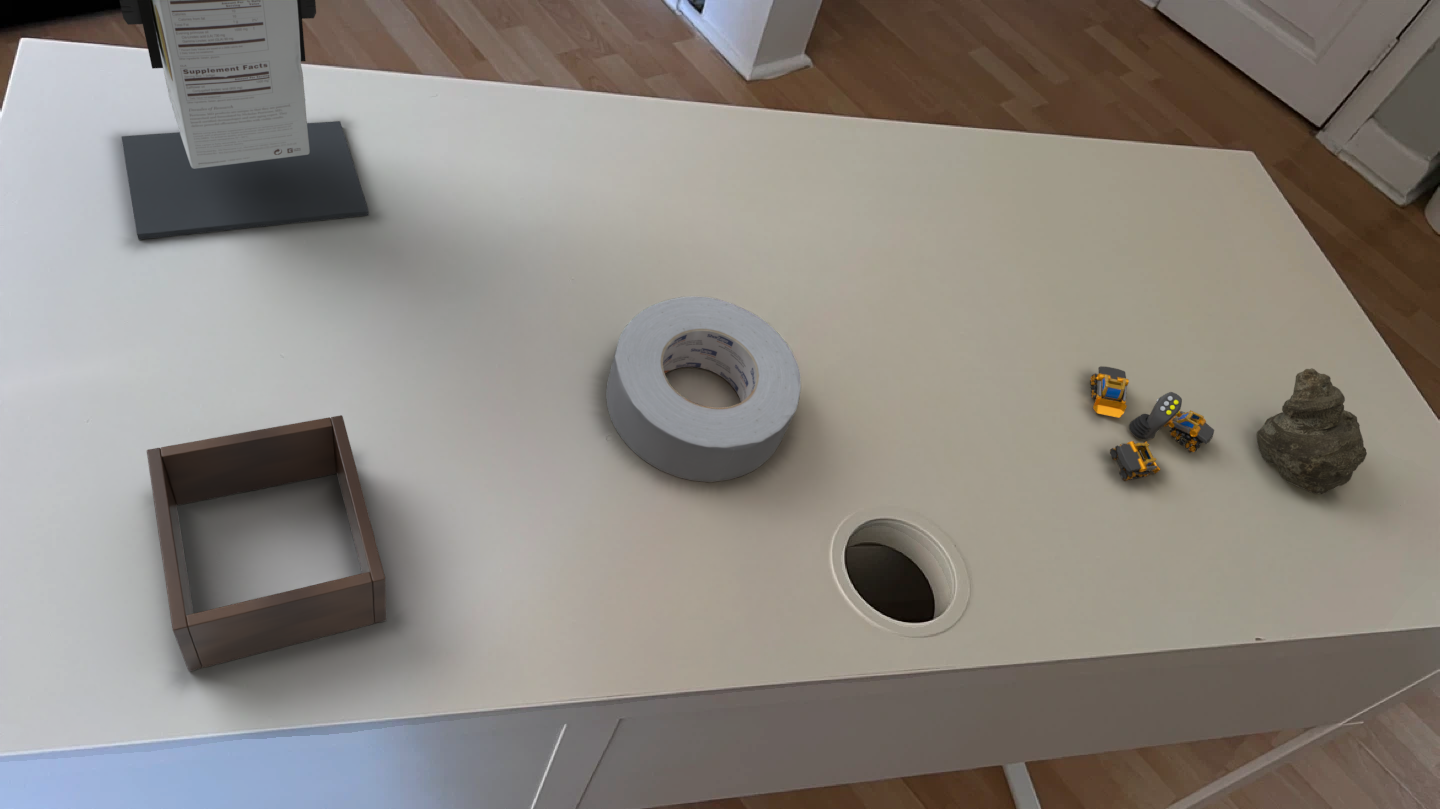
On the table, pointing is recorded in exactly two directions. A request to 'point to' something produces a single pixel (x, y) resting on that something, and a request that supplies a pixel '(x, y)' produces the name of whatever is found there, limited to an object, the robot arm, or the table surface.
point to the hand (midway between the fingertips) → (228, 53)
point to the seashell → (1313, 436)
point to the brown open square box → (246, 468)
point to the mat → (239, 186)
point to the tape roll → (684, 429)
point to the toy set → (1145, 423)
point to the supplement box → (234, 78)
